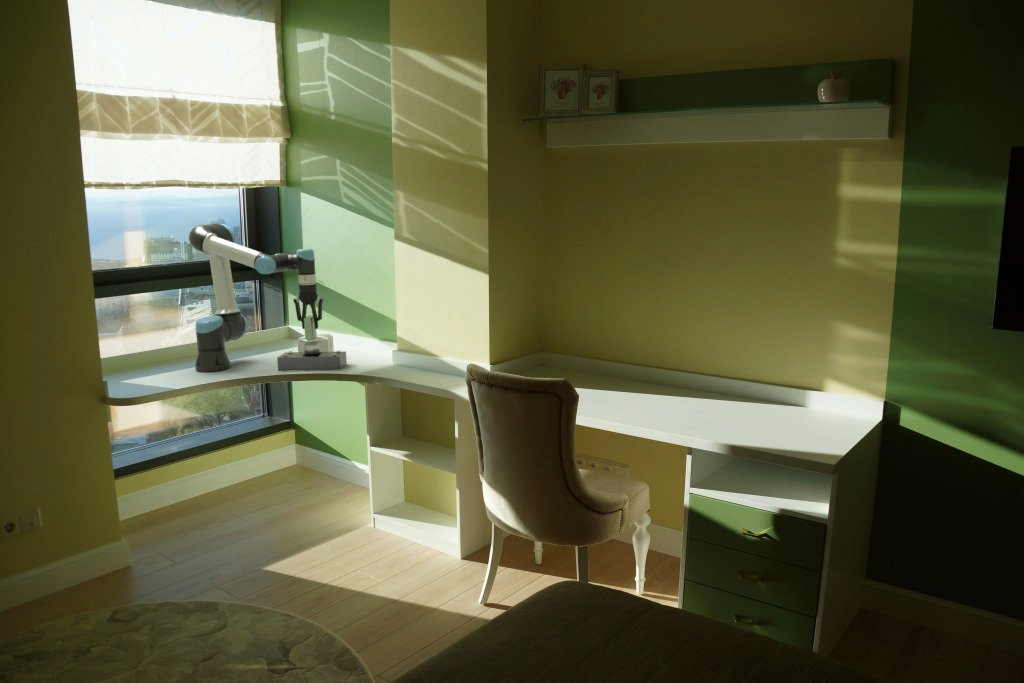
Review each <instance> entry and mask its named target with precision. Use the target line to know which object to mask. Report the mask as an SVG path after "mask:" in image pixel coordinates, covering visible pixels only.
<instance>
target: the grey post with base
mask: <svg viewBox="0 0 1024 683" xmlns="http://www.w3.org/2000/svg"><path fill="white" fill-rule="evenodd" d="M313 322H314V318H313V314H312V315H311V314H310V315H306V317H305V318H304V328H305V329H304V335H305V338H301V339H300V342H302V343H304V354H318V353H320V348H319V342H320V341H322V338H321V337H317V336H315V337H313Z"/></svg>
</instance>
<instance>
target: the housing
mask: <svg viewBox="0 0 1024 683" xmlns="http://www.w3.org/2000/svg"><path fill="white" fill-rule="evenodd" d="M347 363H348V362H347V351H340V350H336V351H334V352H320V353H318V354H304V352H298V351H294V352H293V351H289V350H288V351H287V352H284V353H282V354H281V355H279V356H278V357H277V370H278V372H284V371H285V372H287V371H286V370H304V371H341V370H343V368H345V367H346V366H347V365H348V364H347Z"/></svg>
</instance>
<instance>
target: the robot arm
mask: <svg viewBox="0 0 1024 683" xmlns="http://www.w3.org/2000/svg"><path fill="white" fill-rule="evenodd" d="M235 238H236V237H235V234H234V232H233V230H232V228H231V227H229V225H226V224H224V223H209V224H199V225H196V226H194V227H193V228H192V229H191V230H190V232H189V235H188V241H189V244H190V245H191V247H192V248H193V249H195V250H196V251H197V252H201V253H204V255H205V256H206V257H208V259H209V264H210V272H211V277H212V278H211V280H212V284H213V291H214V297H215V305H216V311H215V312H214V315H208V316H204V317H200V318H199V319H197V320H196V321H195V335H196V336H195V337H196V343H197V344H196V345H197V355H196V356H197V357H196V361H195V365H194V367H195V371H196V370H197V372H200V371H213V372H219V371H218V370H221V371H224V370H223V369H225V370H228V369H230V368H231V366H232V365H231V361H230V358H229V356H228V354H227V352H226V343H229V342H230V341H236V340H238V339H241V338H242V337H244V336H245V335H246V333H247V332H248V328H249V325H248V324H249V323H248V320H247V318H246V317H245V315H243V314H242V312H241V309H239V308H238V307H237V303H236V301H237V300H236V294H235V286H234V282H233V276H232V269H231V268H232V267H231V262H230V261H233V262H235V263H239V264H240V265H241V264H242V265H244V266H247V267H250V268H252V269H255V270H256V271H257V272H258V273H259V274H261V275H271V274H273V273H274V274H275V273H281V272H286V271H297V275H298V276H297V277H298V279H297V280H298V284H299V285H298V290H299V291H298V294H299V295H298V297H297V298H296V297H295V298H293V304H294V305H295V312H296V318H297V321H298V322H299V321H300V322H301V328H302V330H305V328H304V318H305V317H307V309H308V305H309V306H310V308H311V313H312V315H313V318H314V322H313V337H315V336H317V329H319V321H321V320H322V319H323V303H324V300H325V299H324V298H323V297H319V295H318V293H317V292H318V290H317V284H316V283H317V276H316V264H315V263H316V262H315V261H316V258H315V251H314V249H312V248H300V249H299V248H298V249H297V250H296V253H283V252H281V253H275V254H271V255H270V254H266V253H264V252H261V251H259V250H255V249H252V248H250V247H247V246H245V245H241V244H239V243H236V242H235ZM316 301H317V303H318V304H317V309H316ZM300 302H301V303H302V312H301V306H300V305H301V304H300Z"/></svg>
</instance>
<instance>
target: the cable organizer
mask: <svg viewBox="0 0 1024 683" xmlns="http://www.w3.org/2000/svg"><path fill="white" fill-rule="evenodd" d="M316 333H317V332H316ZM317 337H321V338H322V341H320V342H319V348H320V352H335V349H334V336H333V334H332V333H327V332H326V333H325V332H324V333H323V332H321V333H317ZM301 338H305V334H304V335H303V336H301V337H299V338H298V339H297V340H296V341H297V352H304V343H302V342H300V339H301Z"/></svg>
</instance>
